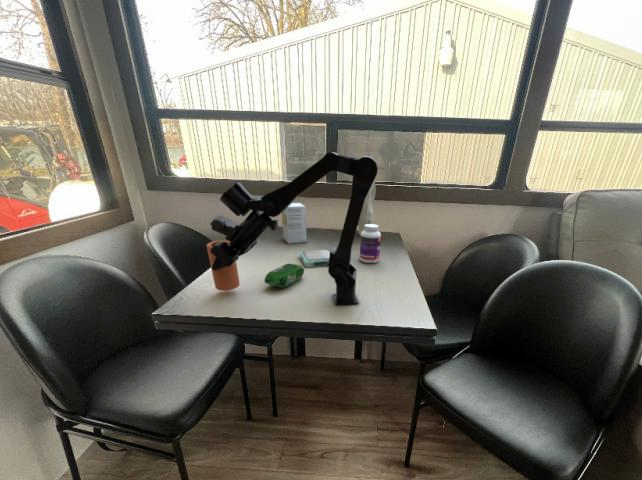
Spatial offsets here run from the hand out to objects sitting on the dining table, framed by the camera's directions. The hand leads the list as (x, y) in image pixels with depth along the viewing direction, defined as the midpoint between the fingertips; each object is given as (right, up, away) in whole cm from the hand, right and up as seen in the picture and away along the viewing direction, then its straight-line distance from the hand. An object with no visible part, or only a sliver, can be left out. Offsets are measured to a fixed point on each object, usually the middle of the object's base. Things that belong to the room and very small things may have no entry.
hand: (219, 264), depth 86 cm
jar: (+1, -6, +3) cm, 7 cm away
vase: (+46, +24, +71) cm, 88 cm away
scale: (+25, +5, +33) cm, 41 cm away
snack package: (+17, -5, +12) cm, 21 cm away
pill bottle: (+46, +6, +35) cm, 58 cm away
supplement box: (+11, +18, +57) cm, 61 cm away
